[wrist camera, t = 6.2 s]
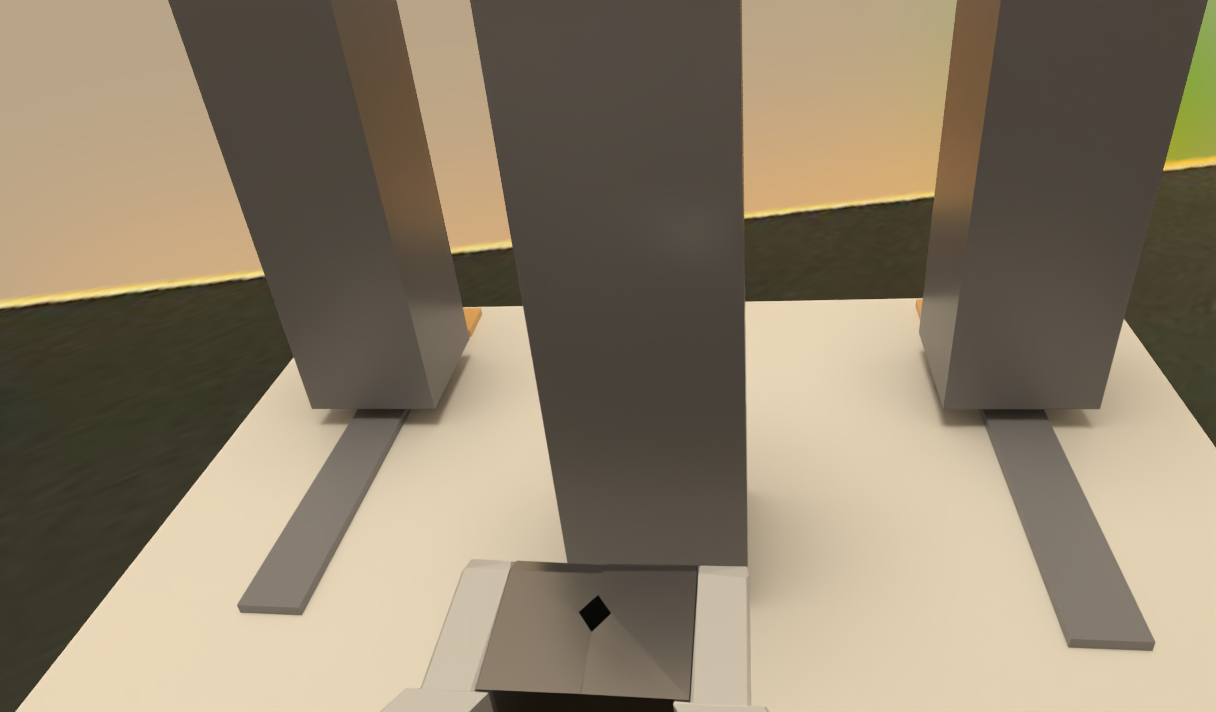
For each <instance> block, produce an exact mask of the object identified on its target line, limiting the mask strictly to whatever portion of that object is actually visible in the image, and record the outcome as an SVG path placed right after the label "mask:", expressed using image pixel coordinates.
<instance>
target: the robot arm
mask: <svg viewBox="0 0 1216 712" xmlns="http://www.w3.org/2000/svg"><path fill="white" fill-rule="evenodd" d="M380 712H769V710H768V709H767V707H762V706H751V645H750V583H749V570H748V567H745V566H700V568H699V565H646V564H607V565H595V564H575V563H556V562H536V561H503V560H482V559H471V560H470V562H469V563H468V564H467V566H466V567H465V568H464V569H463V571H462V573H461V576H460V579H459V581H458V584H457V587H456V590H455V592H454V595H453V598H452V601H451V604H450V606H449V609H448V612H447V615H446V618H445V620H444V623H443V626H442V629H441V632H440V634H439V637H438V640H437V643H436V646H435V648H434V651H433V654H432V657H431V660H430V662H429V665H428V668H427V671H426V674H425V676H424V679H423V682H422V685H421V687H420V688H406V689H405V690H404V691H403V692H402V693H400V694H399V695H398V696H397V697H396V698H395V699H394V700H392V701H391V702H390V703H389V704H388V705H387V706H386V707H385V708H383V709H382V710H381V711H380Z"/></svg>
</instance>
